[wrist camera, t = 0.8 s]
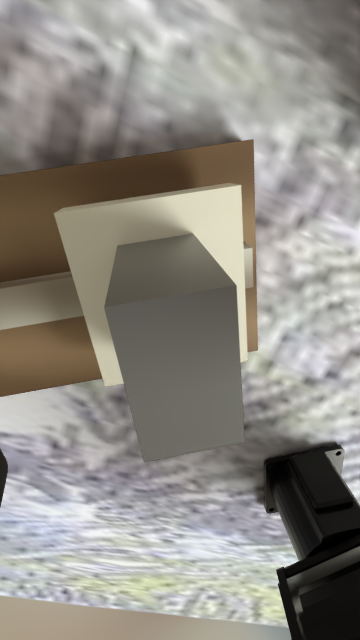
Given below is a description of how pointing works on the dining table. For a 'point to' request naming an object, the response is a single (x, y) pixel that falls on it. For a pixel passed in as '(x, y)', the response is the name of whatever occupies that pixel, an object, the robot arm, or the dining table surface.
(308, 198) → the dining table surface
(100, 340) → the carriage
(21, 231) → the rail track
